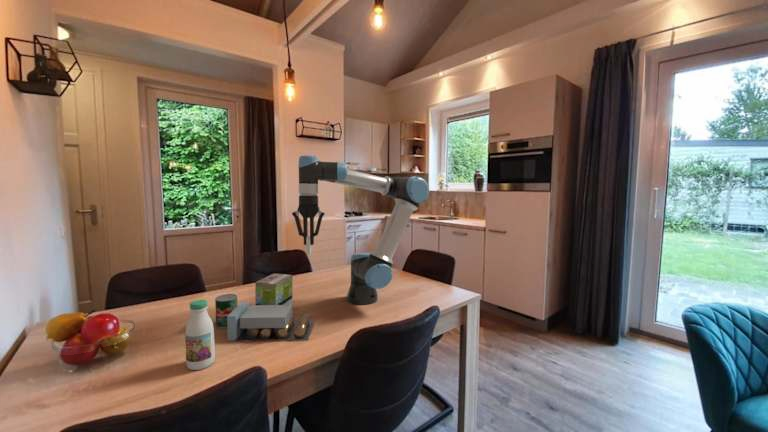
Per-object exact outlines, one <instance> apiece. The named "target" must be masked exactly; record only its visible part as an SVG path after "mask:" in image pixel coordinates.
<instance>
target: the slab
mask: <svg viewBox="0 0 768 432" xmlns="http://www.w3.org/2000/svg"><path fill="white" fill-rule="evenodd" d="M292 315H293V304H292V305H255V304H254V305H253V304H252V305H250V307H249V308H248V309H247V311H246V312H245V313H244V314H243V315H242V316H241V317H240V328H285V327H286V326H287V324H288V322H289V320H290V318H291V316H292Z"/></svg>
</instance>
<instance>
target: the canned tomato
mask: <svg viewBox="0 0 768 432" xmlns="http://www.w3.org/2000/svg"><path fill="white" fill-rule="evenodd" d="M214 302H215V303H214V304H215V308H214V309H215V327H216V328H218V329H227V316H228V315H229V314H230V313H231V312H232V311H233V310H234V309H235V308H236V307H237V306H238V295H237V294H235V293H225V294H221V295H218V296H216V297H215V298H214Z"/></svg>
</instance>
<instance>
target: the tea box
mask: <svg viewBox="0 0 768 432" xmlns="http://www.w3.org/2000/svg"><path fill="white" fill-rule="evenodd" d="M293 279H294V278H293V275H292V274H284V273H272V274H270V275H268V276H266V277H264V278H261V279H260V280H257V281H255V298H254V299H255V303H254V305H292V306H293Z"/></svg>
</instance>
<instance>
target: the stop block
mask: <svg viewBox="0 0 768 432" xmlns="http://www.w3.org/2000/svg"><path fill="white" fill-rule="evenodd" d="M250 306H251V305H250V301H241V302H240V303H239V304H237V307H236V308H235V309H234V310H233V311H232V312H231V313H230V314H229V315H228V316H227V328H226V329H227V341H229V342H231V341H234V340H235V339H237V338H238V337H239V336H240V334H241V333H242V332H243V331H244V330H245V328H240V317H241V316H242V315H243V314H244V313H245V312H246V311H247V309H248V308H249V307H250Z"/></svg>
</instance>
